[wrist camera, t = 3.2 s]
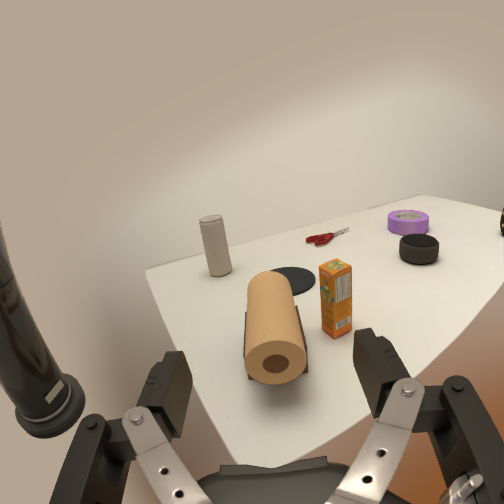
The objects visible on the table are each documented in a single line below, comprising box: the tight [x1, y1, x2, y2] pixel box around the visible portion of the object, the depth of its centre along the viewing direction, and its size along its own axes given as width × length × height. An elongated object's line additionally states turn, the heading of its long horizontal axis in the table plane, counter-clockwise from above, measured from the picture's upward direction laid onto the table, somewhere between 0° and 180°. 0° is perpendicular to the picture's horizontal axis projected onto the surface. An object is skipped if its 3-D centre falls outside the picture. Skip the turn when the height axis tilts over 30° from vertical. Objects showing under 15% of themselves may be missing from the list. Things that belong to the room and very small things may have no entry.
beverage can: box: [199, 215, 232, 276], centre depth 60 cm, size 5×5×12 cm
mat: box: [270, 267, 315, 296], centre depth 54 cm, size 11×11×1 cm
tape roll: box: [388, 210, 429, 235], centre depth 70 cm, size 12×12×4 cm
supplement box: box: [319, 258, 352, 338], centre depth 37 cm, size 3×3×10 cm
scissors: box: [306, 228, 349, 245], centre depth 73 cm, size 5×14×1 cm, turn 121°
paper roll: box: [245, 271, 307, 384], centre depth 31 cm, size 6×14×6 cm, turn 0°
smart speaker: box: [399, 234, 439, 264], centre depth 54 cm, size 9×9×4 cm
